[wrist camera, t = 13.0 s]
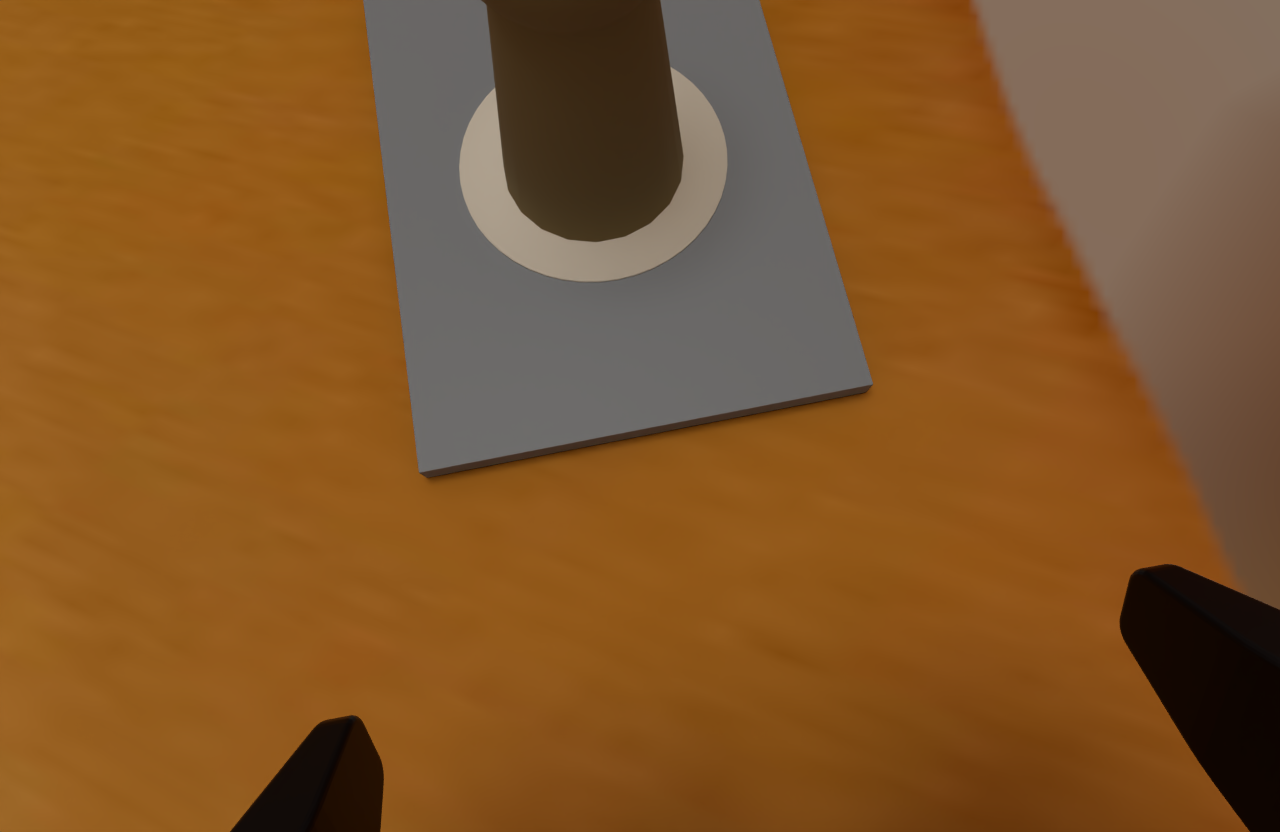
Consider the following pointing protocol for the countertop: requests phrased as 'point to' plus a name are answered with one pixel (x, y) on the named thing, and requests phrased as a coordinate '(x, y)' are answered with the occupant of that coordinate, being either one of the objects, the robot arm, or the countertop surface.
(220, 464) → the countertop surface
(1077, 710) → the countertop surface
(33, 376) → the countertop surface
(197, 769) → the countertop surface
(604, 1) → the olive rounded peg
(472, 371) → the board
